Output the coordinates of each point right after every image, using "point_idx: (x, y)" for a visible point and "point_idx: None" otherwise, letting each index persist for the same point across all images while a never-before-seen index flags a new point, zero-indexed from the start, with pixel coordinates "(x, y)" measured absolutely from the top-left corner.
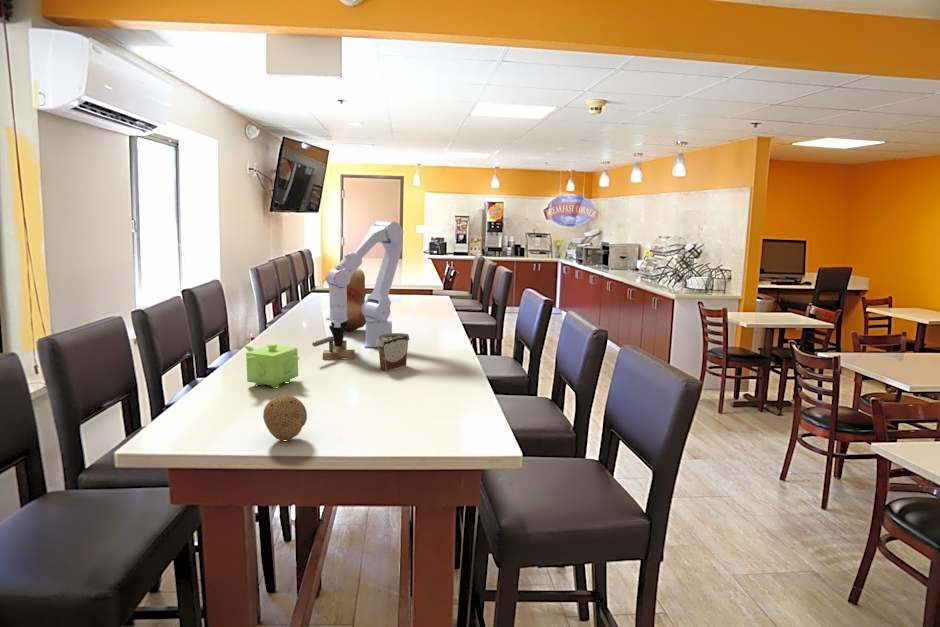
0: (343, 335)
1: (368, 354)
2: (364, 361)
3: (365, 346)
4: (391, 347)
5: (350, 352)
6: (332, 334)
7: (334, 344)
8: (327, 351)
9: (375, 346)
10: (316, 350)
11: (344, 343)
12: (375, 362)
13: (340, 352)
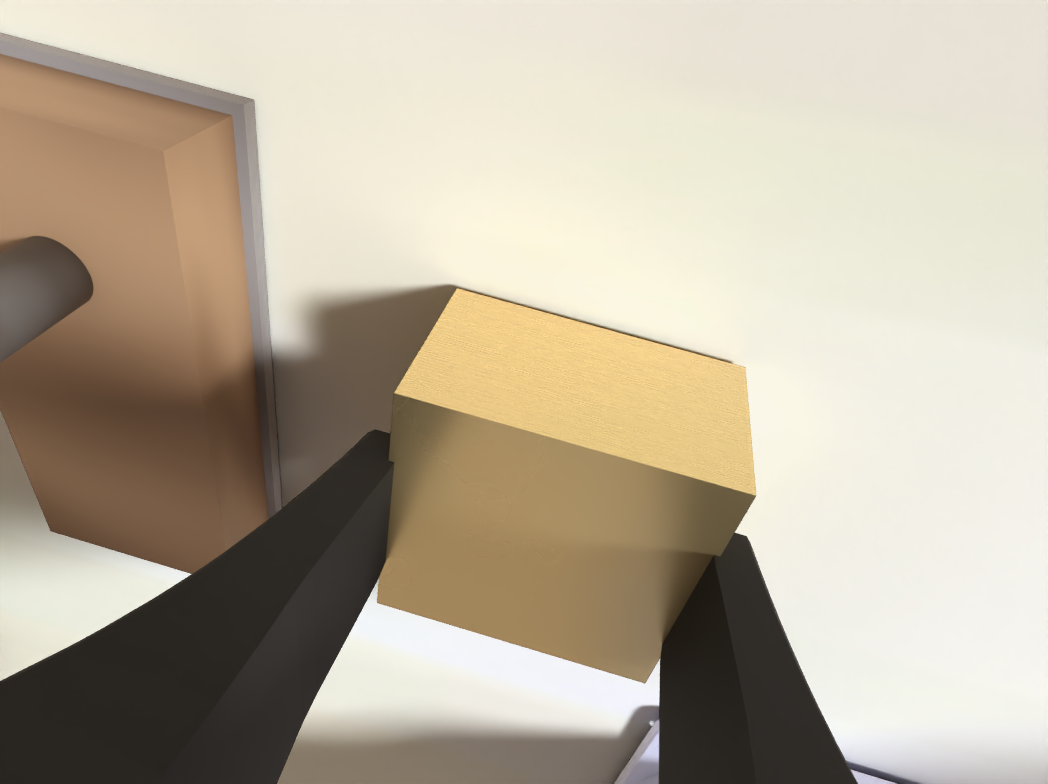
0: (662, 758)
1: None
2: (21, 516)
3: (658, 728)
4: None
5: (56, 502)
6: (135, 614)
7: (392, 446)
8: (36, 203)
9: (623, 778)
10: (834, 9)
11: (392, 591)
12: (10, 573)
13: (21, 393)
